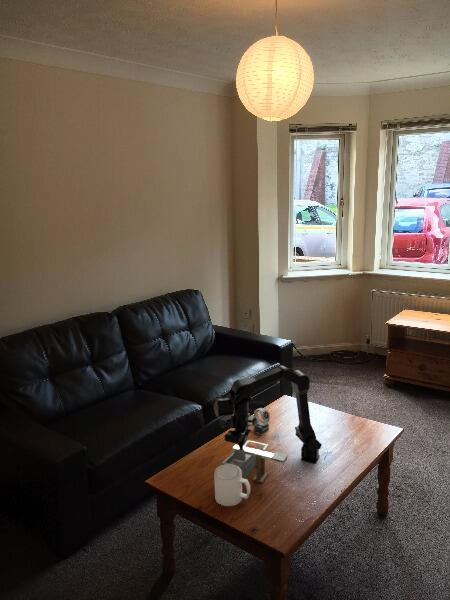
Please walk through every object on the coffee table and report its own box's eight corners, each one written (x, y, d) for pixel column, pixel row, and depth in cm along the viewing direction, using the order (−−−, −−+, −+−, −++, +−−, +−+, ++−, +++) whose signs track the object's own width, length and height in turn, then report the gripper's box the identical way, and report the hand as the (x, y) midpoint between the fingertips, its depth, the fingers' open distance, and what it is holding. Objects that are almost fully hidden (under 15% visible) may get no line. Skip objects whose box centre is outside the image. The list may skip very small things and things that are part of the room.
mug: (254, 493, 179) (254, 468, 177) (245, 510, 170) (245, 484, 167) (221, 486, 184) (220, 462, 182) (210, 502, 175) (209, 476, 172)
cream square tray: (268, 451, 207) (268, 444, 207) (259, 463, 199) (259, 455, 198) (248, 447, 212) (248, 440, 211) (239, 458, 203) (239, 450, 203)
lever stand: (268, 474, 191) (268, 449, 188) (262, 483, 185) (261, 457, 183) (259, 472, 193) (258, 447, 190) (252, 480, 187) (252, 455, 185)
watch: (264, 435, 221) (264, 413, 219) (251, 430, 227) (251, 408, 224) (272, 431, 225) (272, 409, 223) (258, 425, 231) (258, 404, 228)
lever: (287, 467, 185) (287, 454, 184) (283, 474, 181) (283, 461, 180) (236, 455, 195) (236, 442, 194) (231, 461, 191) (231, 448, 189)
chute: (257, 462, 200) (257, 444, 198) (239, 486, 184) (239, 467, 182) (241, 458, 203) (241, 440, 201) (222, 481, 187) (221, 463, 185)
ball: (253, 444, 203) (254, 454, 203) (257, 442, 207) (258, 451, 207) (245, 444, 206) (246, 453, 205) (249, 441, 209) (251, 450, 209)
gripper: (232, 399, 198) (233, 433, 202) (211, 418, 182) (212, 454, 186) (257, 404, 193) (257, 439, 197) (238, 424, 177) (238, 461, 181)
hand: (241, 448), depth 190 cm, fingers closed, pressing on lever
